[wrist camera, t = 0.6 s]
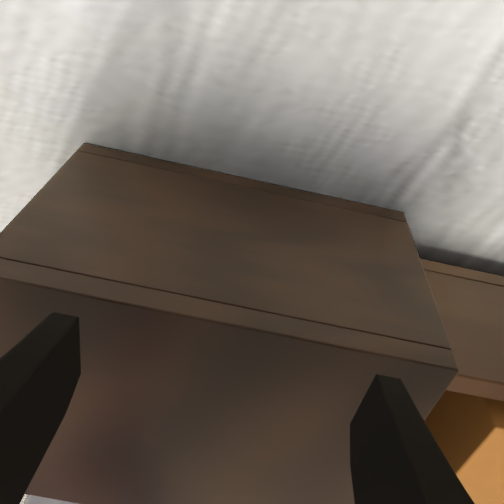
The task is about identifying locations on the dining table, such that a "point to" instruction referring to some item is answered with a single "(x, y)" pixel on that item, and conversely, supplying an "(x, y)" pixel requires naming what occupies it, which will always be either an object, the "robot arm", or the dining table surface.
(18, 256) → the cabinet
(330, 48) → the dining table surface
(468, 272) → the drawer
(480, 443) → the packet
